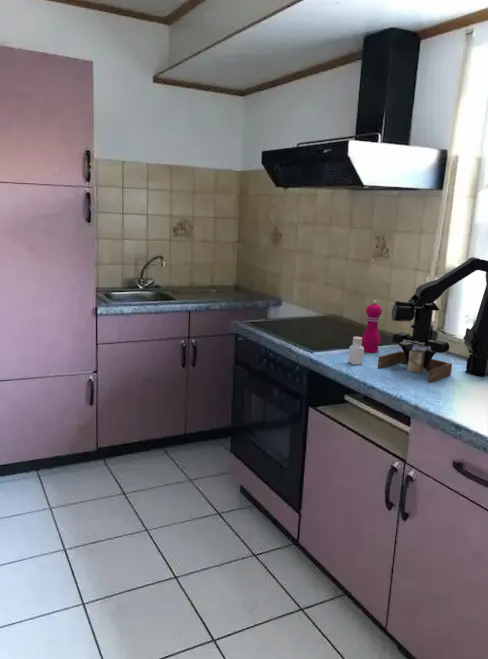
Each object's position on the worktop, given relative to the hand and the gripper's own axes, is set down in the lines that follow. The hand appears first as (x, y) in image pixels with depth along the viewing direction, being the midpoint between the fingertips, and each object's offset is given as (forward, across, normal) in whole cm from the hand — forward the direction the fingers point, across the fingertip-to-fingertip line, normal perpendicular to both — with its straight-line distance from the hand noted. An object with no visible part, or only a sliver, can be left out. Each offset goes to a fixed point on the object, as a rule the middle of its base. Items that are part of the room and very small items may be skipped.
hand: (417, 366), depth 193 cm
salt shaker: (+2, +18, +11) cm, 21 cm away
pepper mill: (+2, +25, -9) cm, 27 cm away
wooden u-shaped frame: (+2, 0, +2) cm, 2 cm away
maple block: (+2, 0, 0) cm, 2 cm away
